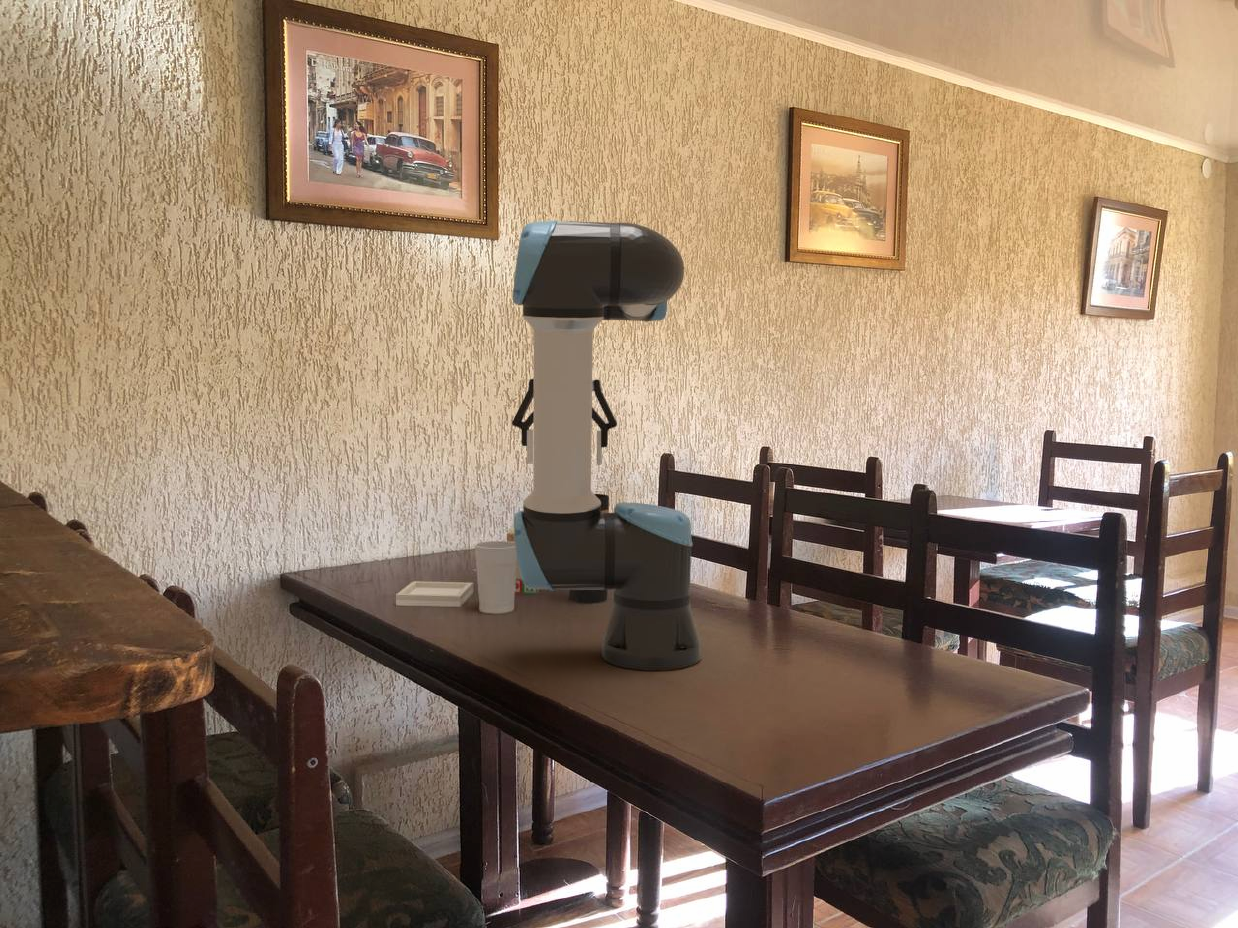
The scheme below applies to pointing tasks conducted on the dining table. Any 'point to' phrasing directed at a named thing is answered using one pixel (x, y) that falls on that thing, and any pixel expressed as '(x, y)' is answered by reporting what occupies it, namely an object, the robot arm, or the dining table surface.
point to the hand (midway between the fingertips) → (564, 464)
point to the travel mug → (592, 595)
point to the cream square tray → (434, 594)
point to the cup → (496, 575)
